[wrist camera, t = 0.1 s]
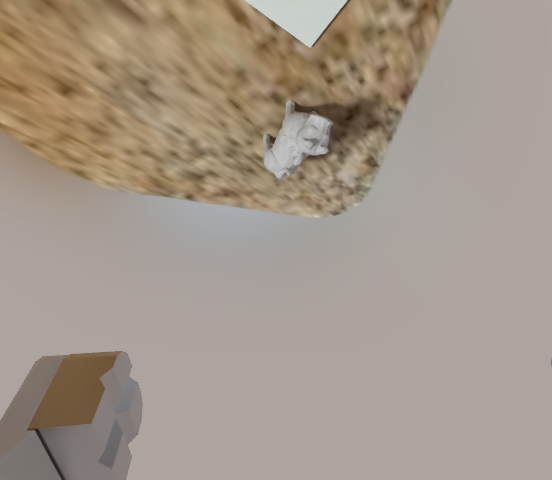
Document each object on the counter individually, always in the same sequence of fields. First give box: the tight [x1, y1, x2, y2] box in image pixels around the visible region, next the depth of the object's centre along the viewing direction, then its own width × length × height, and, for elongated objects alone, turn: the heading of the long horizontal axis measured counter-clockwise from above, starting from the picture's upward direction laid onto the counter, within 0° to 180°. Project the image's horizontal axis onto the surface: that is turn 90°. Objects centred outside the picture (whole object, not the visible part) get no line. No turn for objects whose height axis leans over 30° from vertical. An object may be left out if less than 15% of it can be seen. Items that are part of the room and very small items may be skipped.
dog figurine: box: [263, 100, 333, 179], centre depth 61 cm, size 5×13×11 cm, turn 150°
